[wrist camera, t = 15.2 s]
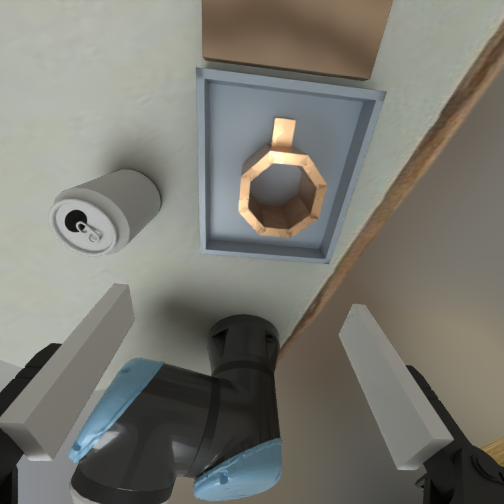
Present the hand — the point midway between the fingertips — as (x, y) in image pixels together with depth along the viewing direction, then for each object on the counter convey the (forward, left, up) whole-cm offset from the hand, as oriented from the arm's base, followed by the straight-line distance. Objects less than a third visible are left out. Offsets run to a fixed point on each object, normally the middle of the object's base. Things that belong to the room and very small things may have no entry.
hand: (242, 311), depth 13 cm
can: (-1, +16, -22) cm, 27 cm away
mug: (+5, -4, -22) cm, 22 cm away
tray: (+3, -4, -22) cm, 23 cm away
